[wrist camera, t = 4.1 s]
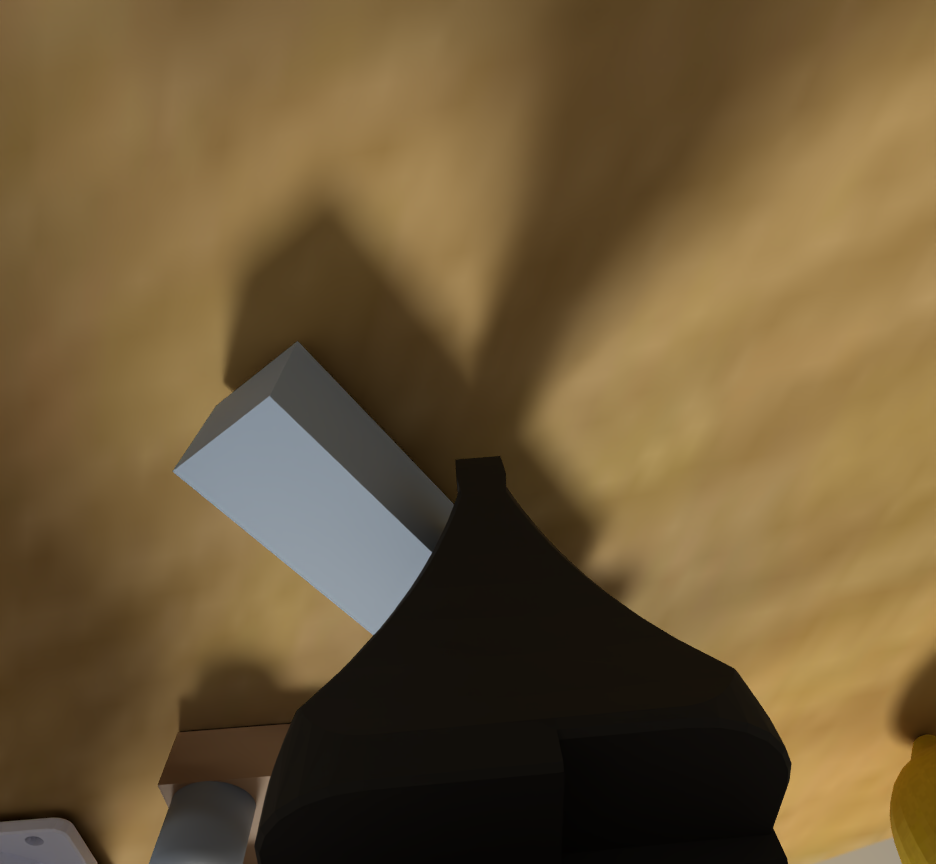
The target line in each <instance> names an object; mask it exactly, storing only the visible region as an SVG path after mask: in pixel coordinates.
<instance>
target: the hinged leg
mask: <svg viewBox="0 0 936 864" xmlns="http://www.w3.org/2000/svg"><path fill="white" fill-rule="evenodd" d="M173 472H174V473H175V474H176V475H177V476H179V477H180V478H181V479H182V480H184V481H185V482H186V483H187V484H188V485H190V486H191V487H192V488H193V489H195V490H196V491H197V492H198V493H199V494H201V495H202V496H203V497H204V498H206V499H207V500H208V501H209V502H211V503H212V504H213V505H214V506H215V507H217V508H218V509H219V510H220V511H222V512H223V513H224V514H225V515H226V516H228V517H229V518H230V519H231V520H233V521H234V522H235V523H236V524H238V525H239V526H240V527H241V528H242V529H244V530H245V531H246V532H247V533H249V534H250V535H251V536H252V537H253V538H255V539H256V540H257V541H258V542H260V543H261V544H262V545H263V546H265V547H266V548H267V549H268V550H269V551H271V552H272V553H273V554H274V555H276V556H277V557H278V558H279V559H280V560H282V561H283V562H284V563H285V564H287V565H288V566H289V567H290V568H292V569H293V570H294V571H295V572H296V573H298V574H299V575H300V576H301V577H303V578H304V579H305V580H306V581H307V582H309V583H310V584H311V585H312V586H314V587H315V588H316V589H317V590H319V591H320V592H321V593H322V594H323V595H325V596H326V597H327V598H328V599H330V600H331V601H332V602H333V603H334V604H336V605H337V606H338V607H339V608H341V609H342V610H343V611H344V612H345V613H347V614H348V615H349V616H350V617H352V618H353V619H354V620H355V621H357V622H358V623H359V624H360V625H361V626H363V627H364V628H365V629H366V630H368V631H369V632H370V633H371V634H372V635H374V634H375V633H376V632H377V631H378V630H379V629H380V628H381V626H382V625H383V624H384V623H385V621H386V620H387V619H388V618H389V616H390V615H391V614H392V613H393V611H394V610H395V609H396V607H397V606H398V604H399V603H400V602H401V600H402V599H403V598H404V596H405V595H406V594H407V592H408V591H409V589H410V588H411V586H412V585H413V583H414V582H415V580H416V579H417V577H418V576H419V574H420V572H421V571H422V569H423V568H424V566H425V564H426V562H427V561H428V559H429V557H430V555H431V554H432V552H433V550H434V548H435V546H436V544H437V542H438V540H439V538H440V536H441V534H442V532H443V530H444V528H445V526H446V523H447V521H448V519H449V516H450V513H451V511H452V508H453V506H454V504H453V503H452V502H451V501H450V500H449V499H448V498H447V497H446V496H445V495H444V493H443V492H442V491H441V490H440V489H439V488H438V487H437V486H436V485H435V484H434V483H433V482H432V481H431V480H430V479H429V478H428V477H427V476H426V475H425V474H424V473H423V472H422V470H421V469H420V468H419V467H418V466H417V465H416V464H415V463H414V462H413V461H412V460H411V459H410V458H409V457H408V456H407V455H406V454H405V453H404V452H403V451H402V450H401V449H400V448H399V446H398V445H397V444H396V443H395V442H394V441H393V440H392V439H391V438H390V437H389V436H388V435H387V434H386V433H385V432H384V431H383V430H382V429H381V428H380V427H379V426H378V425H377V423H376V422H375V421H374V420H373V419H372V418H371V417H370V416H369V415H368V414H367V413H366V412H365V411H364V410H363V409H362V408H361V407H360V406H359V405H358V404H357V403H356V402H355V400H354V399H353V398H352V397H351V396H350V395H349V394H348V393H347V392H346V391H345V390H344V389H343V388H342V387H341V386H340V385H339V384H338V383H337V382H336V381H335V380H334V379H333V378H332V376H331V375H330V374H329V373H328V372H327V371H326V370H325V369H324V368H323V367H322V366H321V365H320V364H319V363H318V362H317V361H316V360H315V359H314V358H313V357H312V356H311V355H310V353H309V352H308V351H307V350H306V349H305V348H304V347H303V346H302V345H301V344H300V343H299V342H298V341H297V342H296V343H294V344H293V345H292V346H291V347H289V348H288V349H287V350H286V351H284V352H283V353H282V354H280V355H279V356H278V357H277V358H275V359H274V360H273V361H272V362H270V363H269V364H268V365H267V366H265V367H264V368H263V369H262V370H260V371H259V372H258V373H257V374H255V375H254V376H253V377H252V378H250V379H249V380H248V381H247V382H245V383H244V384H243V385H242V386H240V387H239V388H238V389H236V390H235V391H234V392H233V393H231V394H230V395H229V396H228V397H226V398H225V399H224V400H223V401H221V402H220V403H219V404H218V405H216V407H215V408H214V410H213V411H212V413H211V414H210V416H209V417H208V419H207V420H206V422H205V423H204V425H203V426H202V428H201V429H200V431H199V432H198V434H197V435H196V437H195V438H194V440H193V441H192V443H191V444H190V446H189V447H188V449H187V450H186V452H185V453H184V455H183V456H182V458H181V459H180V461H179V462H178V464H177V465H176V467H175V468H174V470H173Z"/></svg>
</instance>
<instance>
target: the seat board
mask: <svg viewBox="0 0 936 864" xmlns="http://www.w3.org/2000/svg"><path fill="white" fill-rule="evenodd" d="M289 727H290V724H280V725H267V726H254V727H241V728H229V729H216V730H203V731H190V732H178V734H177V736H176V739H175V741H174V744H173V747H172V749H171V752H170V754H169V757H168V760H167V762H166V765H165V767H164V770H163V773H162V775H161V778H160V780H159V783H158V787H159V789H160V791H161V793H162V795H163V797H164V799H165V802H166V804H167V806H168V808H169V809H168V812H167V814H166V817H165V820H164V823H163V826H162V828H161V831H160V834H159V837H158V840H157V842H156V845H155V848H154V851H153V854H152V856H151V859H150V862H149V864H258V863H257V858H256V853H255V848H254V844H255V840H256V835H257V831H258V826H259V822H260V817H261V813H262V808H263V804H264V799H265V795H266V791H267V787H268V783H269V780H270V777H271V774H272V771H273V768H274V765H275V762H276V759H277V757H278V754H279V751H280V749H281V746H282V743H283V741H284V738H285V736H286V734H287V731H288V729H289Z"/></svg>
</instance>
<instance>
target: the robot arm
mask: <svg viewBox="0 0 936 864" xmlns="http://www.w3.org/2000/svg"><path fill="white" fill-rule="evenodd" d="M455 461H456V477H457V489H458V495H457V498H456V501H455V503H454V506H453V508H452V511H451V513H450V516H449V519H448V521H447V523H446V526H445V528H444V530H443V532H442V534H441V536H440V538H439V540H438V542H437V544H436V546H435V548H434V550H433V552H432V554H431V555H430V557H429V559H428V561H427V562H426V564H425V566H424V568H423V569H422V571H421V572H420V574H419V576H418V577H417V579H416V580H415V582H414V583H413V585H412V586H411V588H410V589H409V591H408V592H407V594H406V595H405V596H404V598H403V599H402V600H401V602H400V603H399V604H398V606H397V607H396V609H395V610H394V611H393V613H392V614H391V615H390V616H389V618H388V619H387V620H386V621H385V623H384V624H383V625H382V626H381V628H380V629H379V630H378V631H377V632H376V633H375V634H374V635H373V636H372V638H371V639H370V640H369V641H368V642H367V643H366V644H365V645H364V646H363V648H362V649H361V650H360V651H359V652H358V653H357V654H356V655H355V656H354V657H353V659H352V660H351V661H350V662H349V663H348V664H347V665H346V666H345V667H344V668H343V669H342V670H341V671H340V672H339V673H338V674H337V675H335V676H334V677H333V678H332V679H331V680H330V681H329V682H328V683H327V684H326V685H325V686H323V687H322V688H321V689H320V690H319V691H318V692H317V693H316V694H315V695H314V696H313V697H312V698H310V699H309V700H308V701H307V702H306V703H305V704H304V705H303V706H301V707H300V708H299V709H298V710H297V711H296V713H295V715H294V718H293V720H292V722H291V724H290V727H289V729H288V731H287V734H286V736H285V738H284V741H283V743H282V746H281V749H280V751H279V754H278V757H277V759H276V762H275V765H274V768H273V771H272V774H271V777H270V780H269V783H268V787H267V791H266V795H265V799H264V804H263V808H262V813H261V817H260V822H259V826H258V831H257V835H256V840H255V844H254V848H255V853H256V858H257V863H258V864H788V861H787V857H786V855H785V853H784V851H783V849H782V846H781V844H780V842H779V840H778V838H777V836H776V833H775V831H774V829H773V826H774V823H775V820H776V818H777V815H778V812H779V809H780V806H781V803H782V800H783V798H784V795H785V792H786V789H787V786H788V783H789V779H790V771H791V761H790V758H789V756H788V753H787V750H786V747H785V745H784V744H783V742H782V740H781V738H780V736H779V734H778V732H777V731H776V729H775V727H774V725H773V723H772V722H771V720H770V718H769V717H768V715H767V714H766V712H765V711H764V709H763V708H762V706H761V705H760V703H759V702H758V700H757V699H756V697H755V696H754V695H753V693H752V692H751V690H750V689H749V688H748V686H747V685H746V683H745V682H744V681H743V679H742V678H741V676H740V675H739V674H738V672H737V671H736V670H735V669H734V668H732V667H730V666H728V665H727V664H725V663H723V662H721V661H719V660H717V659H715V658H713V657H711V656H709V655H707V654H705V653H703V652H701V651H699V650H697V649H695V648H694V647H692V646H690V645H688V644H686V643H684V642H682V641H680V640H678V639H676V638H675V637H673V636H671V635H669V634H668V633H666V632H664V631H663V630H661V629H660V628H658V627H656V626H655V625H653V624H651V623H650V622H648V621H646V620H645V619H643V618H642V617H640V616H639V615H637V614H636V613H634V612H633V611H631V610H630V609H629V608H627V607H626V606H624V605H623V604H622V603H620V602H619V601H617V600H616V599H615V598H613V597H612V596H610V595H609V594H608V593H606V592H605V591H604V590H602V589H601V588H600V587H599V586H598V585H596V584H595V583H594V582H593V581H591V580H590V579H589V578H588V577H587V576H585V575H584V574H583V573H582V572H581V571H580V570H579V569H578V568H577V567H575V566H574V565H573V564H572V563H571V562H570V561H569V560H568V559H567V558H566V557H565V556H564V555H563V554H562V553H561V552H560V551H559V550H558V549H557V548H556V547H555V546H554V545H553V544H552V543H551V542H550V541H549V540H548V539H547V538H546V537H545V535H544V534H543V533H542V532H541V531H540V530H539V529H538V528H537V526H536V525H535V524H534V523H533V522H532V521H531V519H530V518H529V517H528V515H527V514H526V513H525V512H524V510H523V509H522V508H521V506H520V505H519V504H518V503H517V501H516V500H515V499H514V497H513V496H512V494H511V493H510V491H509V490H508V488H507V487H506V473H505V470H504V466H503V463H502V460H501V457H500V456H495V457H483V458H471V459H458V460H455ZM0 864H98V863H97V861H96V860H95V858H94V857H93V855H92V853H91V852H90V850H89V849H88V847H87V845H86V844H85V842H84V841H83V839H82V837H81V836H80V834H79V833H78V831H77V830H76V828H75V826H74V825H73V824H72V823H71V822H70V821H68V820H66V819H63V818H55V817H52V818H40V819H28V820H16V821H4V822H0Z"/></svg>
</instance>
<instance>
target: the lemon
mask: <svg viewBox="0 0 936 864" xmlns="http://www.w3.org/2000/svg"><path fill="white" fill-rule="evenodd" d="M890 822H891V829H892V834H893V838H894V842H895V845H896V848H897V851H898V854H899V856H900V859H901V862H902V864H936V736H934V735H930V734H927V735H922V736H920V737H918V738H917V739H916V740H915V741H914V743H913V748H912V755H911V760H910V761H909V762H908V763H907V764H906V765H905V766H904V767H903V769H902V770H901V772H900V774H899V776H898V778H897V779H896V781H895V783H894V787H893V792H892V797H891V802H890Z"/></svg>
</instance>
